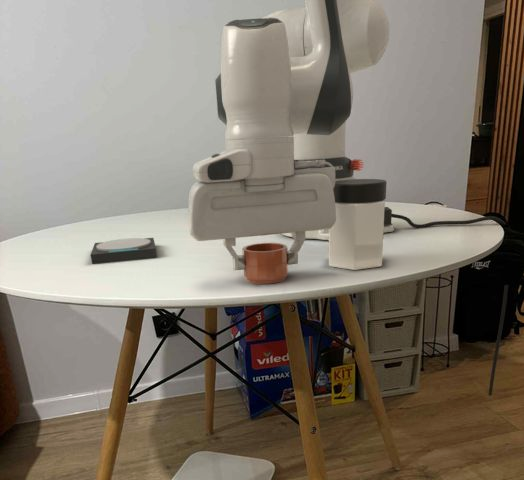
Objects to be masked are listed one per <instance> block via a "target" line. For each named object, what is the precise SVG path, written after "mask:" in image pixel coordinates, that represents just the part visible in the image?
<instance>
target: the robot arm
mask: <svg viewBox="0 0 524 480" xmlns="http://www.w3.org/2000/svg"><path fill="white" fill-rule="evenodd" d="M389 22H390V21H389V18H388V16H387V13H386V11H385V9H384V7H383V6H382V5H381V4H380V3H379V1H378V0H304V6H299V7H298V6H297V7H293V8H286V9H281V10H277V11H274V12H272V13H269V14H267V15H265V16H262V17H260V18H246V19H243V18H242V19H234V20H231V21H229V22H228V23H226V24H225V25H224V26H223V28H222V34H221V44H220V45H221V50H220V73H219V74H218V76H217V77H216V78H215V80H214V81H215V93H216V109H217V118H218V119H219V121H221V122H222V124H224V125H225V126H226V128H225V132H224V140H225V142H224V143H225V144H224V145H225V146H224V147H225V148H224V150H223V151H222V152H219V153H215V154H212V155H211V156H209V157H207V158H204V159H202V160H199V161H197V162H195V163H194V164H193V166H192V175H193V178H194V179H195V180H196V182H195V183H193V185H192V186H191V188H190V190H189V194H188V203H187V205H188V206H187V207H188V208H187V211H188V212H187V219H188V231H189V234H190V236H191V237H192V238H193V239H194V240H196V242H206V241H208V242H209V241H217V240H222V242H223V243H222V244H223V246H224V247H225V249H226V250H227V252H228V253H229V255H230V256H231V258H232V268H233V270H234V271H244V269H245V264H244V263H245V257H243V254H239V255H238V254H237V253H236V250H235V249H234V248H233V247H236V245H237V240H236V239H237V238H238V239H239V238H249V237H259V236H272V235H283V236H285V237H290V238H293V239H294V240H293V242H292V244H291V246H290V249H287V252H288V266H291V265H292V266H293V265H298V263H299V252H300V250H301V249H302V246H303V245H304V242H305V241H306V239H309V240H310V239H311V240H313V239H314V240H323V241H329V229H331V228H332V227H333V225H334V224H335V222H336V206H335V197H334V191H333V189H334V186H335V181H339V180H351V179H356V178H355V177H354V173H355V171H357V172H360V171H362V169H363V168H364V162H363V160H362V159H357V158H354V159H352V160H351V159H350V158H349V157H346V121H347V120H348V119H349V118H350V117H351V113H352V107H353V102H354V88H353V81H352V77H351V74H353V73H355V72H359V71H362V70H366V69H368V68H371V67H374V66H376V65H377V64H378V63H379V62H380V60H381V59H382V57H383V55H384V54H385V52H386V50H387V47H388V44H389V38H390V24H389ZM392 218H394V219H400V220H403V221H405V222H407V223H408V225H409V226H410V227H412V228H414V229H415V228H416V229H424V228H427V227H428V228H429V227H433V226H442V225H443V226H445V225H446V226H447V225H448V226H449V225H453V226H454V225H470V224H475V223H480V222H485V221H495V222H497V223H498V224H500V225H503V226H504V225H507V223H506V222H505V221H504V220H503V219H501V218H500V217H497V216H493V215H492V216H489V215H488V216H482V217H477V218H474V219H467V220H438V221H437V220H435V221H431V222H427V223H423V224H418V223H414V222H413V221H412V220H411V219H410V218H409V217H408V216H405V215H403V214H397V213H393V209H391V208H390V207H389V206H385V209H384V231H383V234H385V233H391V232H394V231H395V227H394V226H395V225H394V224H393V223H392ZM508 292H509V284H505V285H504V288H503V297H502V305H501V311H500V318H499V324H498V330H497V336H496V341H495V348H494V354H493V361H492V366H491V372H490V374H491V375H490V380H489V388H488V396H490V397H491V396H493V389H494V381H495V375H496V368H497V362H498V357H499V356H498V355H499V350H500V345H501V340H502V339H501V338H502V334H503V329H504V328H503V327H504V321H505V314H506V308H507V300H508Z"/></svg>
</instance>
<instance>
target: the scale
mask: <svg viewBox="0 0 524 480" xmlns="http://www.w3.org/2000/svg"><path fill="white" fill-rule="evenodd" d="M155 258H158V255H157V248H156V243H155V239H154V237H146V238H145V237H144V238H142V237H131V238H130V237H129V238H128V237H127V238H119V239H118V238H117V239H112V240H107V241H99V242H94V244H93V247H92V249H91V251H90V260H91V264H92V265H95V264H103V263H104V264H105V263H114V262H123V261H124V262H125V261H134V260H144V259H155Z"/></svg>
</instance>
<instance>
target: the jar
mask: <svg viewBox="0 0 524 480" xmlns="http://www.w3.org/2000/svg"><path fill="white" fill-rule="evenodd" d="M333 191H334V197H335V206H336V222H335V224H334V225H333V227H332V228H331V229H329V240H328V266H329V267H331V268H337V269H338V268H339V269H344V270H351V271H357V270H366V269H373V268H380V267H382V266H383V252H384V251H383V250H384V249H383V248H384V233H383V231H384V209H385V207H386V206H385V205H386V198H387V180H385V179H380V178H355V179H351V180H339V181H335V186H334V189H333Z"/></svg>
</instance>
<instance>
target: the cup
mask: <svg viewBox="0 0 524 480" xmlns="http://www.w3.org/2000/svg"><path fill="white" fill-rule="evenodd" d="M241 249H242V255H243V257H245V263H244V264H245V269H244V270H243V276H244V277H245V279H246V281H247V282H249V283H250V284H256V285H270V284H272V285H273V284H277V283H281V282H284V281H285V280H286V279H287V277H288V274H289V265H288V252H287V250H288V245H287V244H284V243H279V242H259V243H252V244H248V245H245V246H243V247H242V248H241Z"/></svg>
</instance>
